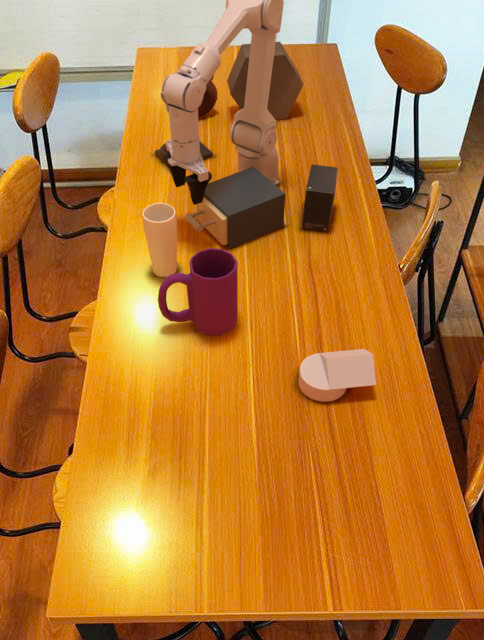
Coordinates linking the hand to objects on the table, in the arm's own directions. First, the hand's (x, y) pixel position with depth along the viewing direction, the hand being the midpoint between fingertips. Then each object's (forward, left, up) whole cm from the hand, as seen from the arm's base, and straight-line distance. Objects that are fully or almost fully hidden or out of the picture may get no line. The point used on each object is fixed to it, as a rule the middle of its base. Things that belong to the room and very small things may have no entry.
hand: (188, 194), depth 149 cm
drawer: (-7, +3, -9) cm, 12 cm away
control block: (-15, -29, -10) cm, 34 cm away
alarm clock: (-28, -44, -10) cm, 53 cm away
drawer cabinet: (-12, +3, -10) cm, 16 cm away
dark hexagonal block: (-44, -35, -10) cm, 57 cm away
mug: (+13, +26, -10) cm, 31 cm away
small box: (-28, +11, -10) cm, 32 cm away
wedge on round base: (0, +53, -10) cm, 54 cm away
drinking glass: (+11, +8, -10) cm, 18 cm away
